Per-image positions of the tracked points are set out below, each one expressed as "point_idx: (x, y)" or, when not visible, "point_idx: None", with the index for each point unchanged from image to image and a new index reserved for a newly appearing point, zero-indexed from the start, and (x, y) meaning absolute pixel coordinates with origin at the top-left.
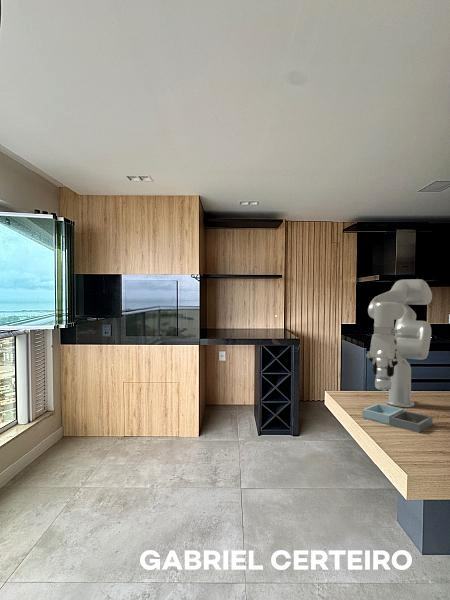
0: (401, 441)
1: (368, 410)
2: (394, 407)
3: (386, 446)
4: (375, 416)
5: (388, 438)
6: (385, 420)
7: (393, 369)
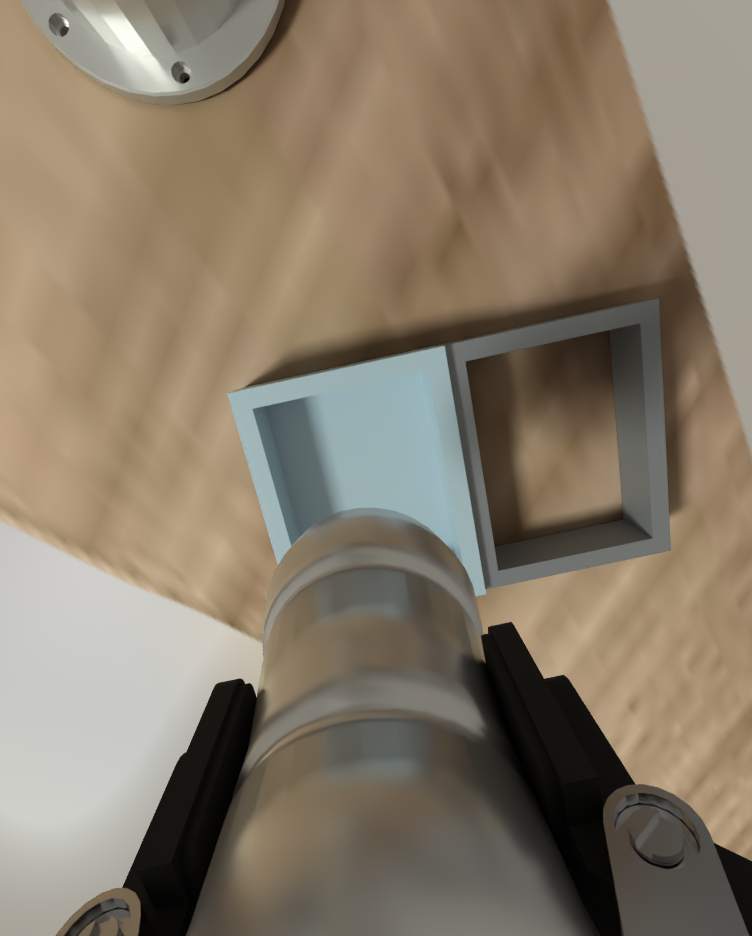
0: (636, 704)
1: None
2: (377, 371)
3: None
4: None
5: None
6: None
7: (615, 774)
